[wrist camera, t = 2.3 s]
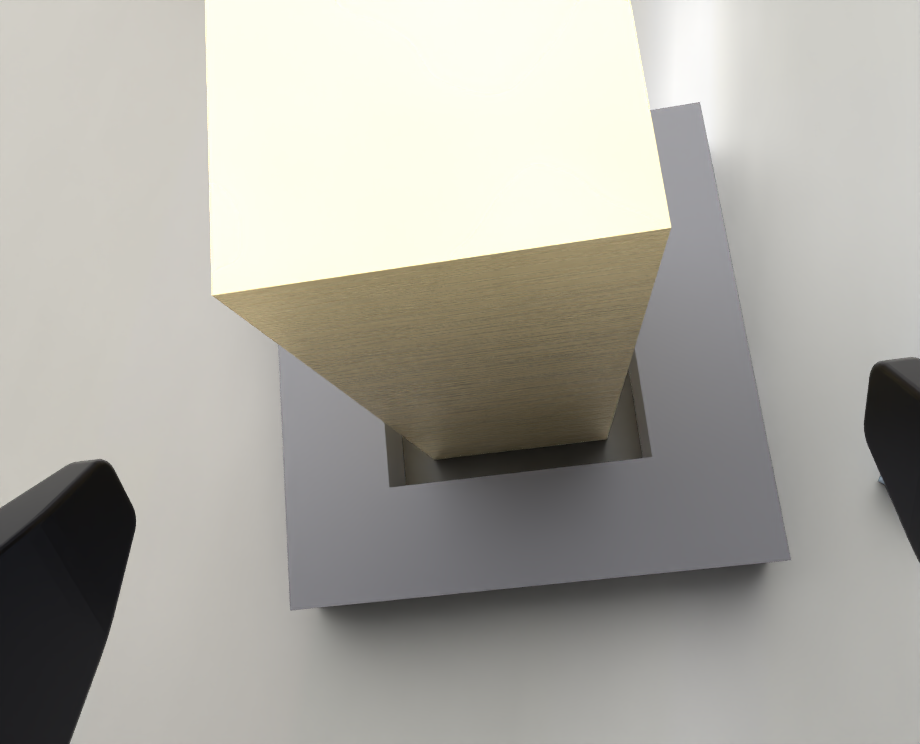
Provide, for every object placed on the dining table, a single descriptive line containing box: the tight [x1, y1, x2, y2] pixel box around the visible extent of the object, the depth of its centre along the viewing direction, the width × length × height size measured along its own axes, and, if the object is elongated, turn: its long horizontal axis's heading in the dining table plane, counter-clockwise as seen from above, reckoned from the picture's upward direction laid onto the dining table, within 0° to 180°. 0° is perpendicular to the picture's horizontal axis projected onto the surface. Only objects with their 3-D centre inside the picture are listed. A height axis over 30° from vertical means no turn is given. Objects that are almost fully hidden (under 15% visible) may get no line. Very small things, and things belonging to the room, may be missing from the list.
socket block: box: [278, 102, 791, 610], centre depth 19 cm, size 11×11×2 cm
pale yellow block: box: [205, 0, 671, 460], centre depth 14 cm, size 4×4×13 cm
